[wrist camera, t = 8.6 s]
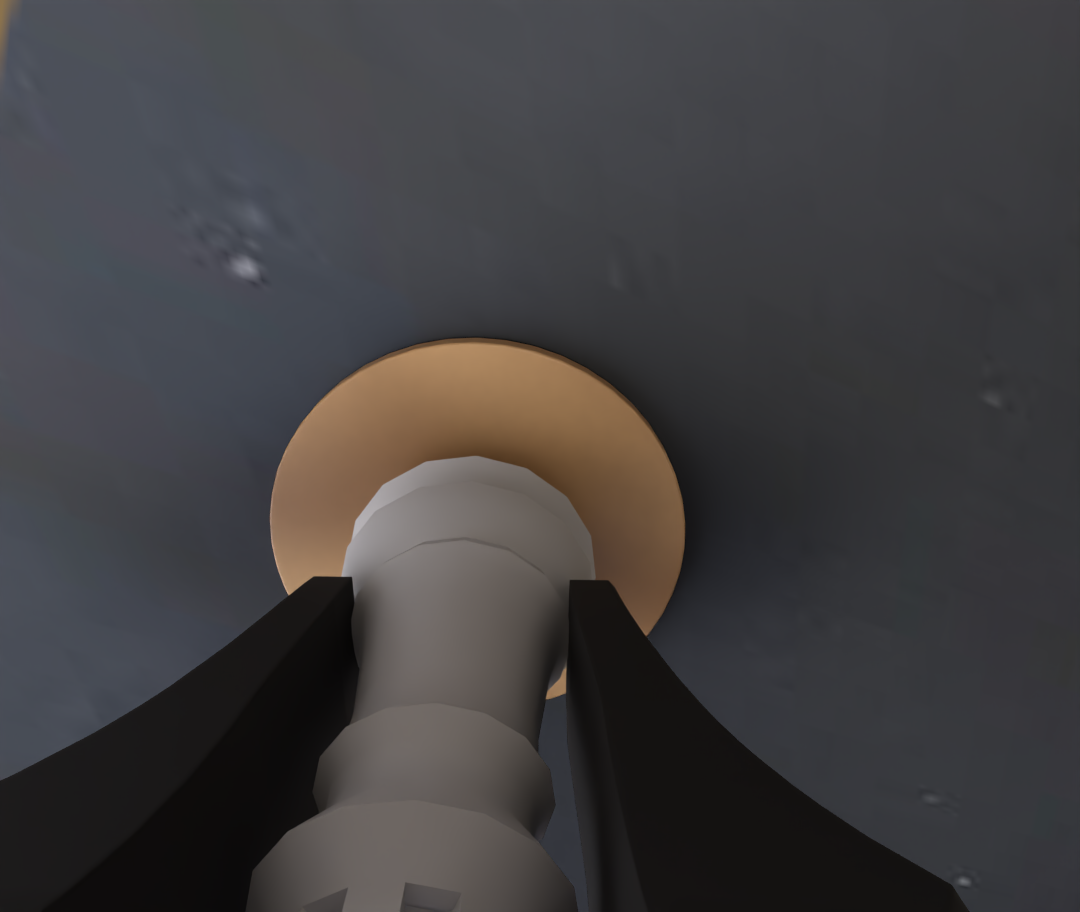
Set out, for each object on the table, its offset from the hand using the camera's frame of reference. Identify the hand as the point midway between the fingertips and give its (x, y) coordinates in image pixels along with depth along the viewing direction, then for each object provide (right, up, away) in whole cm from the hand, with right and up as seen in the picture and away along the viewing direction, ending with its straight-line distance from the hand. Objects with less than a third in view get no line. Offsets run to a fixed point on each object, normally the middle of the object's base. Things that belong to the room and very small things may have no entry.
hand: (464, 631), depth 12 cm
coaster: (0, +1, +3) cm, 3 cm away
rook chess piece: (0, +1, +2) cm, 2 cm away
